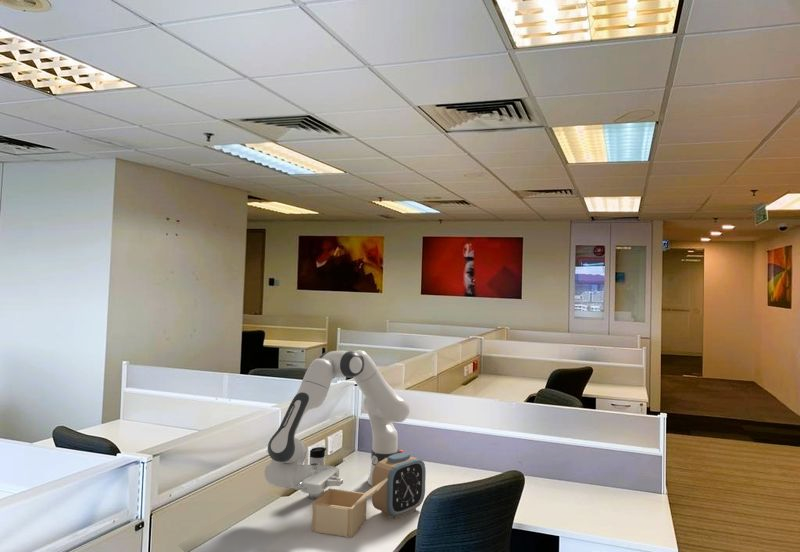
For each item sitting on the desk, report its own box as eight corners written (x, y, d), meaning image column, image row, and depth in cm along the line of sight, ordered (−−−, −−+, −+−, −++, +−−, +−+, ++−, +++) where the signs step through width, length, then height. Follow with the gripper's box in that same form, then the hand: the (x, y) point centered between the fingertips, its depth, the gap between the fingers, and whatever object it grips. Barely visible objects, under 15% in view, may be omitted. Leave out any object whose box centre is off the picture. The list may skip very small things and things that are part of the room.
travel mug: (321, 500, 229) (323, 450, 229) (306, 498, 230) (307, 449, 230) (326, 494, 235) (328, 446, 235) (311, 492, 236) (313, 444, 237)
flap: (354, 504, 198) (376, 489, 196) (365, 492, 209) (386, 478, 207) (355, 505, 198) (377, 491, 195) (366, 493, 209) (387, 479, 207)
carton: (327, 514, 216) (328, 487, 216) (366, 519, 211) (367, 492, 211) (309, 531, 200) (310, 503, 200) (351, 538, 196) (351, 509, 196)
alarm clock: (389, 523, 209) (390, 464, 209) (371, 515, 215) (372, 458, 215) (425, 508, 224) (426, 453, 224) (407, 501, 230) (408, 447, 230)
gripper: (294, 478, 199) (330, 483, 195) (317, 461, 219) (351, 465, 215) (293, 496, 199) (330, 501, 195) (317, 477, 219) (351, 482, 215)
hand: (341, 482), depth 205 cm, fingers closed
